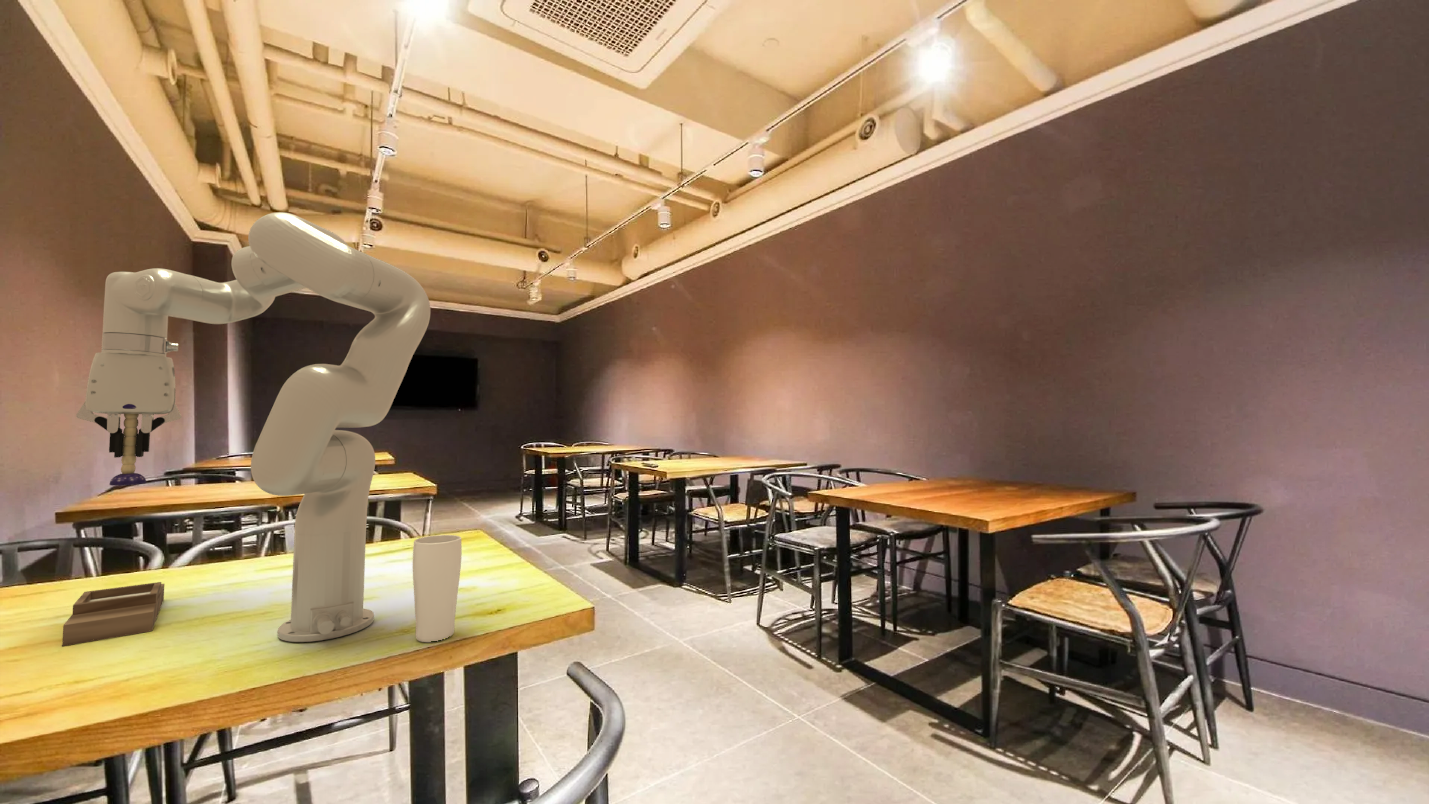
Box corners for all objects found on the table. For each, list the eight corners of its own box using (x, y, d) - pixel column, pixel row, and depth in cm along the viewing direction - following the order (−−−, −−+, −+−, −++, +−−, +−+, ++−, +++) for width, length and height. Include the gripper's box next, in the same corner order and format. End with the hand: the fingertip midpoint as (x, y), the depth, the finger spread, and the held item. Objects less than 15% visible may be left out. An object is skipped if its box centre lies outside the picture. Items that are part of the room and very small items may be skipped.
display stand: (152, 631, 86) (153, 601, 86) (61, 646, 80) (63, 614, 80) (163, 600, 101) (164, 575, 101) (88, 610, 95) (90, 584, 95)
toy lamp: (156, 482, 95) (157, 385, 95) (141, 485, 91) (142, 384, 91) (118, 483, 93) (120, 385, 93) (101, 486, 89) (103, 383, 89)
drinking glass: (467, 629, 88) (470, 535, 88) (442, 646, 81) (445, 544, 82) (427, 628, 88) (430, 534, 89) (399, 644, 82) (403, 542, 82)
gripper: (200, 353, 101) (195, 454, 100) (68, 344, 90) (61, 457, 89) (198, 349, 95) (192, 456, 94) (57, 339, 84) (50, 459, 84)
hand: (129, 456), depth 92 cm, fingers closed on toy lamp
